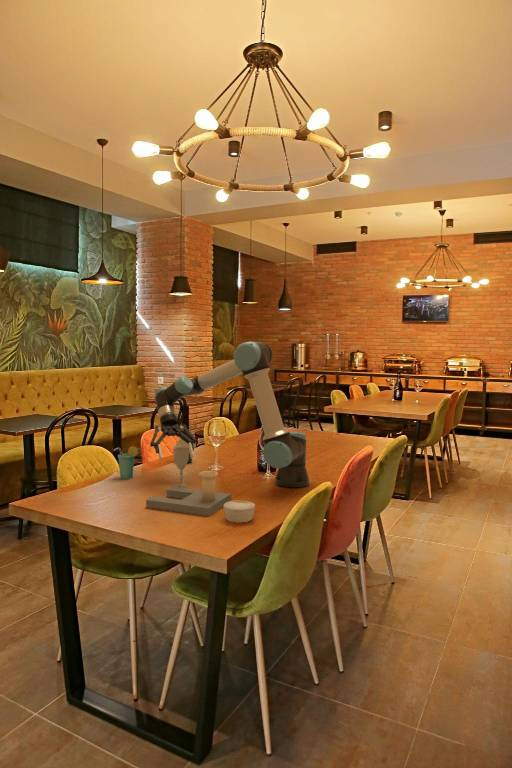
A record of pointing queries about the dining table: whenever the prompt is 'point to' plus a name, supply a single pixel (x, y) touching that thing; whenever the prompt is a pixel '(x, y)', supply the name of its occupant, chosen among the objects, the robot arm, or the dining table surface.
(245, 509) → the ramekin
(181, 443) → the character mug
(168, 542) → the dining table surface
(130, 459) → the cup
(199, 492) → the notched board
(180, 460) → the chalice
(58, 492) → the dining table surface
